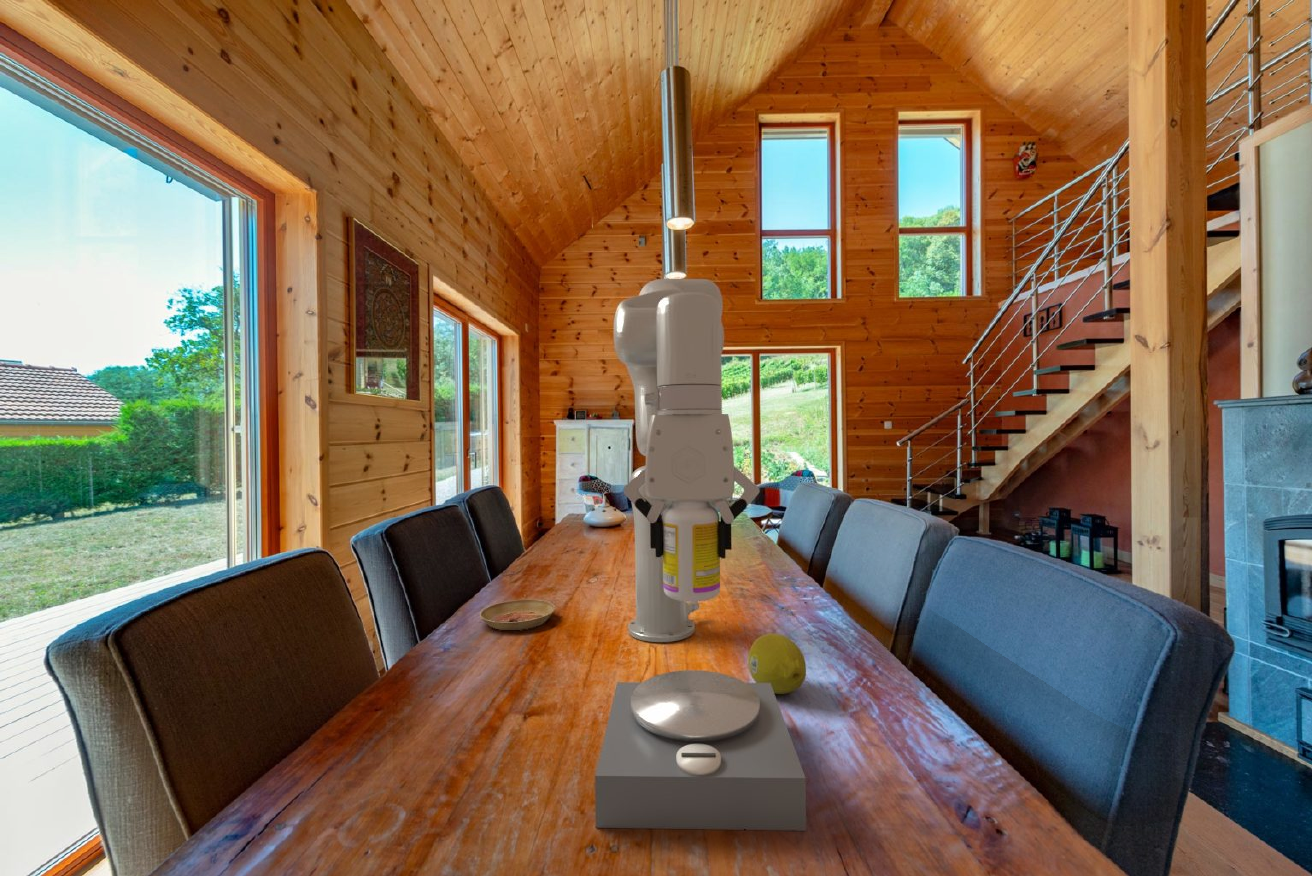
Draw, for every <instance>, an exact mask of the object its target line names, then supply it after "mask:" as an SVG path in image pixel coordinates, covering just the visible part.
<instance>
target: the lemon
mask: <svg viewBox="0 0 1312 876" xmlns="http://www.w3.org/2000/svg"><path fill="white" fill-rule="evenodd" d="M747 657H748V658H747V663H748V669H749V673H750V675H751V677H752V679H753V681H754V683H771V686H772V688H773V691H774V694H776V695H783V694H790V693H792V692H795V691H796V690H798V689H799V688H800V687H801V686H802V684H803V683H804V682H805V679H806V676H807V666H806V660H805V656H804V654H803V652H802V651H801V650H800V648H799V647H798V645H797V643H795V642H794V641H793V640H792V639H790V638H789V637H788V636H785V635H782V634H779V633H774V632H773V633H770V632H769V633H765V634H763V635H761V636H759V637H758V638H757V639H756V640H754V641H753V643H752V645H751V647H750V649H749V651H748V656H747Z"/></svg>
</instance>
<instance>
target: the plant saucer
mask: <svg viewBox="0 0 1312 876" xmlns="http://www.w3.org/2000/svg"><path fill="white" fill-rule="evenodd" d="M555 610H556V605H555V604H553V603H552V602H550V601H547V600H544V599H543V600H542V599H534V598H532V599H513V600H507V601H500V602H498V603H495V604H491V605H489V606H487V607H485V608H484V609H482V610H481V611H480V612H479V616H480V619H482V621H483V622H485V624H487V625H488V626H489V627H490V628H492V627H493V628H492V629H494V628H495V629H494V630H496V629H500V630H499V631H501V630H520V631H522V630H521V629H526V630H529V629H528V628H531V629H533V628H532V627H534V628H537V627H540V626H541V625H543V624H544V623H546V621H547V620H548V619H549V618H550V617H551V616H552V614H553V613H554V611H555ZM523 611H524V612H534V613H535V614H534V613H532V614H526V615H542V617H539V618H532V619H529V620H528V619H527V620H526V619H525V621H518V622H495V621H491V619H492V618H494V617H495V616H498V615H506V614H510V613H514V612H523ZM514 615H515V614H514ZM524 615H525V614H524ZM503 621H504V620H503ZM508 621H509V620H508ZM536 626H537V627H536Z"/></svg>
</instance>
